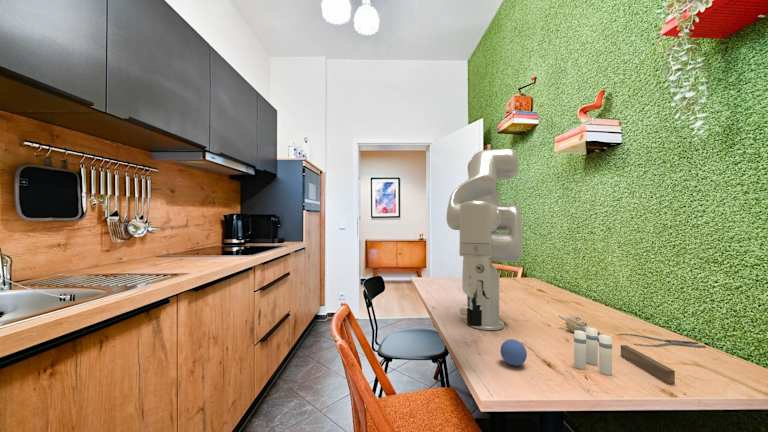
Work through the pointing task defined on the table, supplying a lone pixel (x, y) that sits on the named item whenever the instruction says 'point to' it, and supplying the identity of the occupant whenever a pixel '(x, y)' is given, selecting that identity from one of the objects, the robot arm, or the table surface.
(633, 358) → the bar
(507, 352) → the ball
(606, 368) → the pin back right
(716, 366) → the table surface
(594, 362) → the pin back left
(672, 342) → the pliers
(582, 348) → the pin front
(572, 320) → the toy
